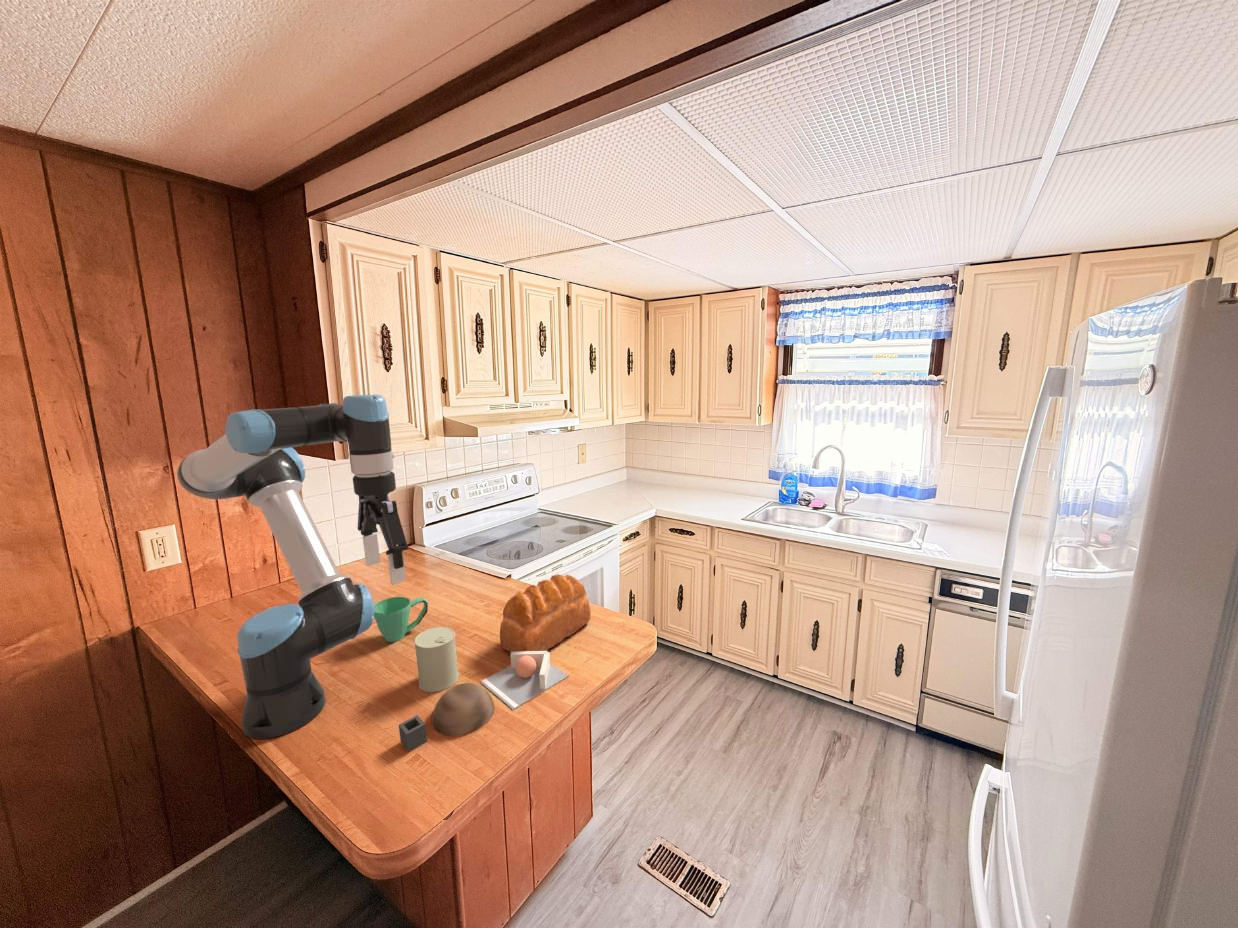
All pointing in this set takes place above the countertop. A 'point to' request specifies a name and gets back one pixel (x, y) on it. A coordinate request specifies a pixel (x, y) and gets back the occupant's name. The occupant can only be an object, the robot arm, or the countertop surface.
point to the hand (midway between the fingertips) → (385, 572)
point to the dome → (462, 710)
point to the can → (436, 659)
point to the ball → (525, 666)
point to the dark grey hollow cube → (413, 733)
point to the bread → (544, 614)
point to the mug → (397, 616)
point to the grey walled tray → (524, 679)
